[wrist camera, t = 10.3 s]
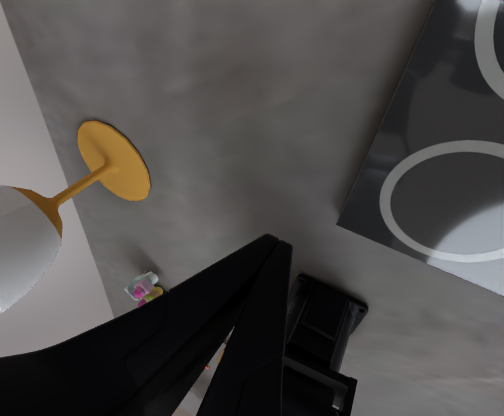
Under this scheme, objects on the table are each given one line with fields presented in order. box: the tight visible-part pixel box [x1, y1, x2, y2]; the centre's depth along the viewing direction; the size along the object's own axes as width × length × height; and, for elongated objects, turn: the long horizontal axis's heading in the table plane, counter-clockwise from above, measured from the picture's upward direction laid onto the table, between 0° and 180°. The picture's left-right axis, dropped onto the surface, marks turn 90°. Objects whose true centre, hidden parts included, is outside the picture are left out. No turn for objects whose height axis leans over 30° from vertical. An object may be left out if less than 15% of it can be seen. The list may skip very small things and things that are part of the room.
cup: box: [0, 120, 151, 313], centre depth 26 cm, size 9×9×16 cm
